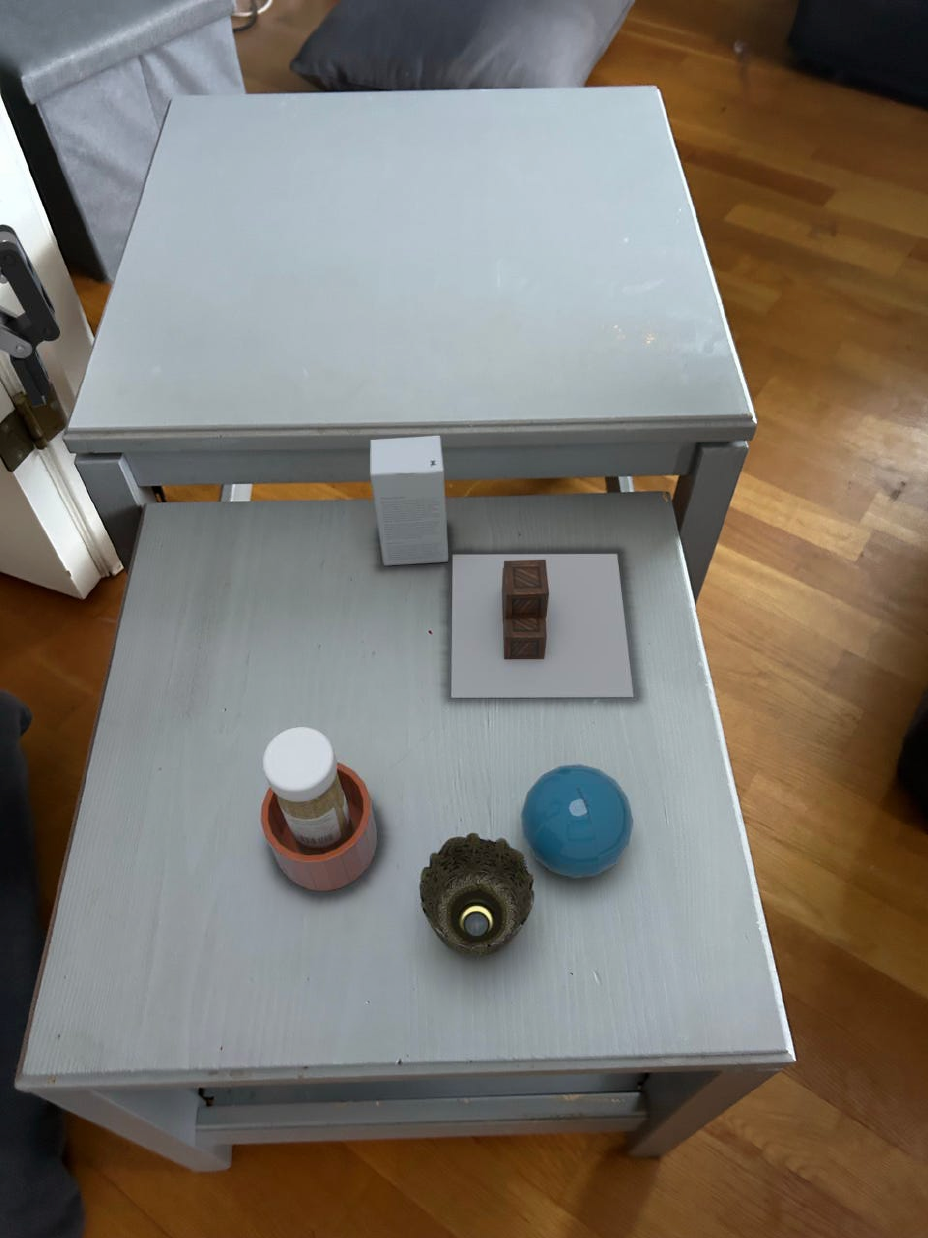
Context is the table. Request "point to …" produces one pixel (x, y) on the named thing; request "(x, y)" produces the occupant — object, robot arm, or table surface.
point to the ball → (576, 821)
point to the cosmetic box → (409, 499)
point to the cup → (476, 893)
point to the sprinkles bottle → (308, 789)
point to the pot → (335, 864)
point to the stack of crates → (538, 627)
